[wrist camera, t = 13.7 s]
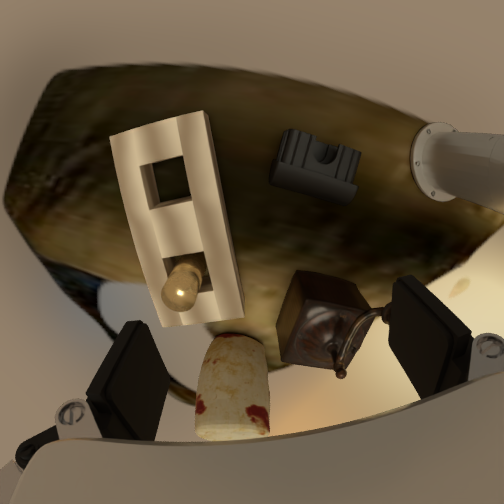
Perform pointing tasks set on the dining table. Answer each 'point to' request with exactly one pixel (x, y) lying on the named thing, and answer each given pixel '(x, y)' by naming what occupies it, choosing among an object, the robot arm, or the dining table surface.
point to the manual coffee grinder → (324, 322)
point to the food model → (233, 390)
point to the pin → (184, 282)
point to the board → (179, 215)
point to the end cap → (315, 168)
